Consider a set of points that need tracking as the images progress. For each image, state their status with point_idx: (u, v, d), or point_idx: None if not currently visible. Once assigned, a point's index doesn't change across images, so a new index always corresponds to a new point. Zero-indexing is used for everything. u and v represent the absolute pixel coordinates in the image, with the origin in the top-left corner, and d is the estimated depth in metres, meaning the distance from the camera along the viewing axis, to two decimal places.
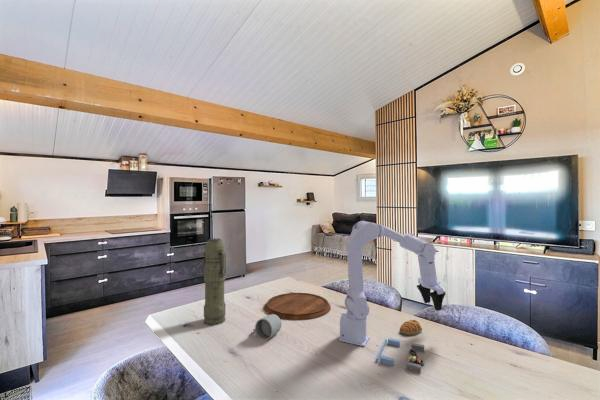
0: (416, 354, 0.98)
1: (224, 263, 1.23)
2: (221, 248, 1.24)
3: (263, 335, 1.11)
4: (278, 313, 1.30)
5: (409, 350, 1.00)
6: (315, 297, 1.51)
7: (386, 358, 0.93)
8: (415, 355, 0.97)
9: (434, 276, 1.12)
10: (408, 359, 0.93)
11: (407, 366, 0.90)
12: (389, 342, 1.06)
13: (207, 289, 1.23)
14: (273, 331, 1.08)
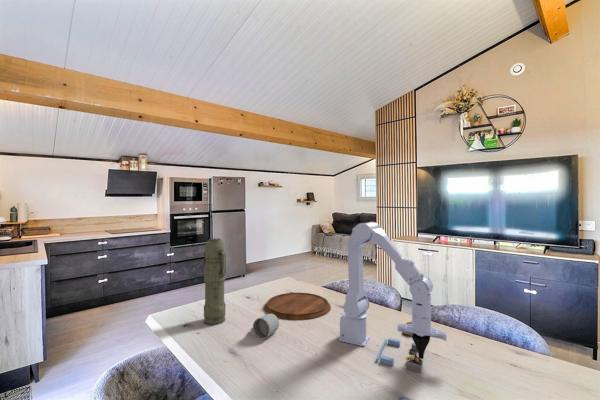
0: (416, 353, 0.98)
1: (224, 263, 1.23)
2: (221, 248, 1.24)
3: (261, 334, 1.12)
4: (278, 313, 1.30)
5: None
6: (315, 297, 1.51)
7: (386, 358, 0.93)
8: (414, 354, 0.97)
9: (412, 318, 0.96)
10: (406, 358, 0.94)
11: (407, 366, 0.90)
12: (389, 342, 1.06)
13: (207, 289, 1.23)
14: (270, 330, 1.09)
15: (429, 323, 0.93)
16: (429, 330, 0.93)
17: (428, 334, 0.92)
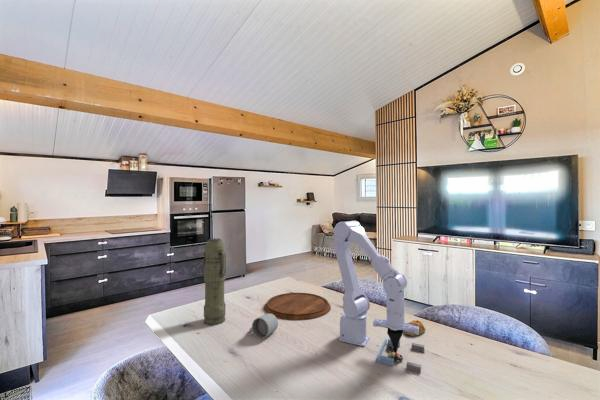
0: None
1: (224, 263, 1.23)
2: (221, 248, 1.24)
3: (260, 334, 1.12)
4: (278, 313, 1.30)
5: None
6: (315, 297, 1.51)
7: (386, 358, 0.93)
8: (393, 350, 0.99)
9: None
10: (388, 355, 0.95)
11: (407, 366, 0.90)
12: (389, 342, 1.06)
13: (207, 289, 1.23)
14: (269, 330, 1.09)
15: (402, 318, 0.97)
16: (402, 325, 0.97)
17: (401, 328, 0.96)
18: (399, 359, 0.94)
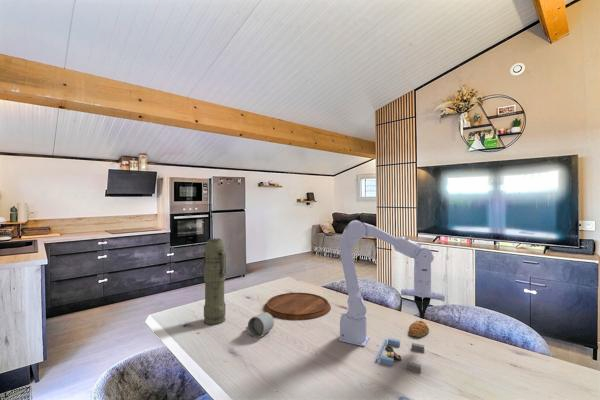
0: (393, 350, 1.01)
1: (224, 263, 1.23)
2: (221, 248, 1.24)
3: (255, 333, 1.13)
4: (278, 313, 1.30)
5: (386, 346, 1.03)
6: (315, 297, 1.51)
7: (386, 358, 0.93)
8: (392, 351, 0.99)
9: (414, 283, 1.06)
10: (387, 355, 0.95)
11: (407, 366, 0.90)
12: (389, 342, 1.06)
13: (207, 289, 1.23)
14: (265, 329, 1.10)
15: (429, 286, 1.04)
16: (429, 292, 1.04)
17: (428, 296, 1.03)
18: (398, 359, 0.95)
